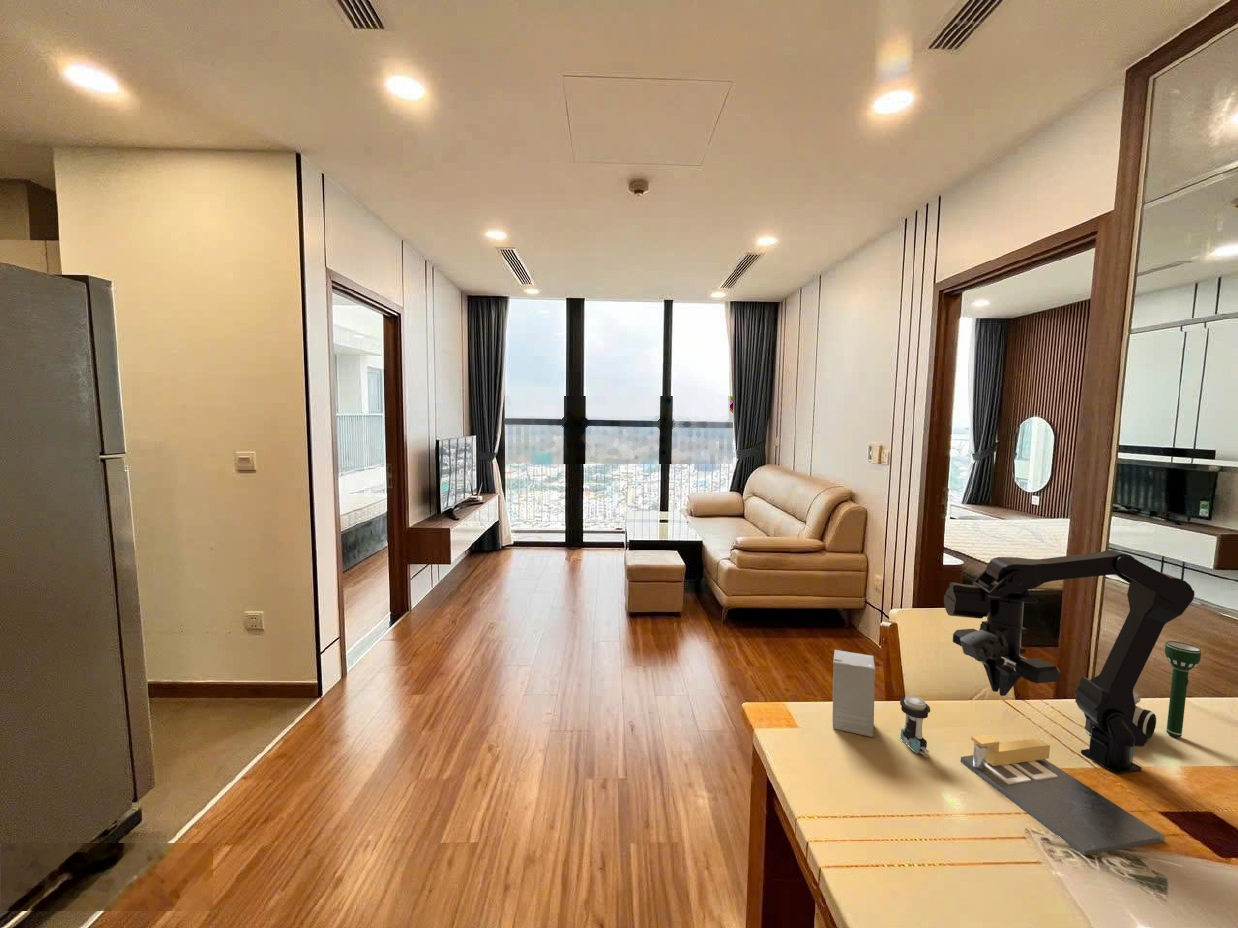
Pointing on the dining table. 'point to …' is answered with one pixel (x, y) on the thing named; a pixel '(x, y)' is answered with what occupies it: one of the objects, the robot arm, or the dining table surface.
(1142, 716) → the camera
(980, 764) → the pivot post
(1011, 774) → the label tile
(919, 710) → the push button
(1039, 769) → the label tile
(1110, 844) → the chassis plate
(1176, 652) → the flashlight
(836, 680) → the skincare box
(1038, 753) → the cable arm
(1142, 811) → the dining table surface
